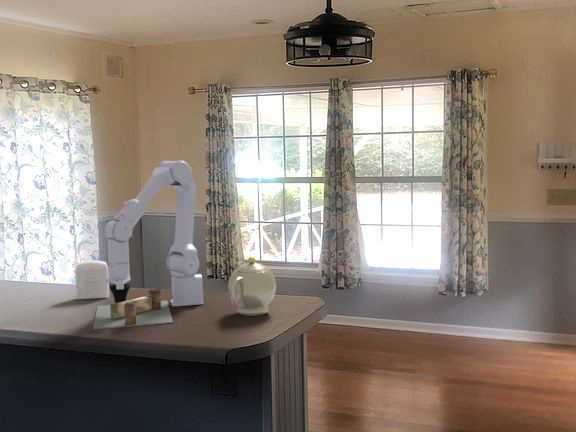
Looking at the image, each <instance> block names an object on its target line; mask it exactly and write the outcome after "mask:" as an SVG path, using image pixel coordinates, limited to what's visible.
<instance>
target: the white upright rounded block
mask: <svg viewBox="0 0 576 432" xmlns="http://www.w3.org/2000/svg"><path fill="white" fill-rule="evenodd" d="M105 278H109V265H108V264H107V261H104V260H94V259H92V260H85V261H80V262H79V263H77V264H76V267H75V289H76V291H75V292H76V300H93V299H94V300H95V299H107V298H110V282H105Z"/></svg>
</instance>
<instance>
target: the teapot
mask: <svg viewBox="0 0 576 432" xmlns="http://www.w3.org/2000/svg"><path fill="white" fill-rule="evenodd" d="M247 261H248V262H246V263H244V264H240V266H238V267H237V268H235V269H234V270H233V272H232V273H231V275H230V278H229V280H228V294H229V296H230V302H231V303H232V305H233V306H234V307H235V308H236V309H237V313H238V314H240V315H242V316H247V317H258V316H262V315H263V316H264V315H265V314H267V313H268V311H269V306H268V305H270V304H271V302H272V300H274V297H275V295H276V292H277V291H276V290H277V283H276V278H275V276H274V274H273V272H272V271H271V270H270V269H269V268H268V267H267V265H266V264H262V263H259V262H255V261H256V258H255V257H254V256H249V257H248V258H247Z"/></svg>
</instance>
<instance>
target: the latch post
mask: <svg viewBox="0 0 576 432" xmlns="http://www.w3.org/2000/svg"><path fill="white" fill-rule="evenodd" d="M124 315H125V325H134V324H136V306H135V304H134V302H125V305H124Z"/></svg>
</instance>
